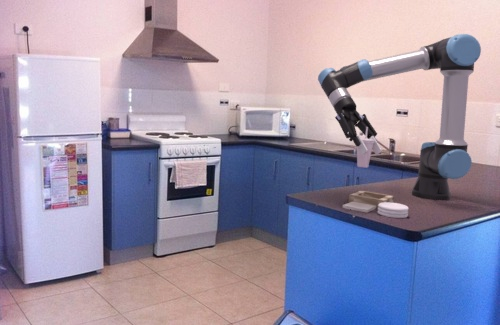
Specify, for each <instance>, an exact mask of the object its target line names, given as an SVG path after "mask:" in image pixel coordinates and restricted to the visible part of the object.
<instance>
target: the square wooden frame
mask: <svg viewBox="0 0 500 325" xmlns="http://www.w3.org/2000/svg"><path fill="white" fill-rule="evenodd" d="M348 202H349V203H350V202H357V203H363V204H369V205H374V206H376V209H378V204H379V203H383V202H390V203H395V195H391V194H387V193H386V194H385V193H379V192H374V191H368V190H367V191H366V190H359V191H356V192H353V193H350V194H349V195H348Z"/></svg>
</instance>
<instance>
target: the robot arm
mask: <svg viewBox="0 0 500 325" xmlns="http://www.w3.org/2000/svg"><path fill="white" fill-rule="evenodd" d="M481 52H482V48H481V44H480V42H479V40H478V39H477V38H476V37H475V36H473V35H471V34H468V33H463V34H462V33H461V34H460V33H459V34H455V35H453V36H450V37H447V38H443V39H441V40H439V41H436V42H434V43H431V44H428V45H424V46H421V47H420V48H419V49H417V50H413V51H409V52H404V53H400V54H395V55H392V56H391V55H390V56H386V57H382V58H376V59H372V60H367V59H365V58H363V59H360V60H358V61H356V62H354V63H350V64H349V65H345V66H342V67H340V69H338V70H336V69H334V68H333V67H328V68H324V69H323V70H321V71H320V73H319V74H318V78H317V80H318V82H319V84H320V87H321V89H322V90H323V92H324V94H325V95H326V97H327V99H328V100H329V103H330V104H331V106H332V107H333V109H334V111H335V113H336V116H334V118H335V119H336V121H337V122H338V124H339V126H340V128H341V130H342V132H343V134H344V136H345V138H346V139H349V142H353V143H354V145H355V146H356V149H357V148H358V149H359V151H360V153H361V155H364V154H365V153H366V152H367V151H368V149H367V148H366V146H365V144H364V142H363V141H362V139H361V138H362V137H361V135H358V133H357V130H356V128H358V129H359V131H360V132H361V133H362V134H363V135H364V136H365V135H366V127H368V131H367V139H372V140H375V141H374V143H373V148H372V152H374V154H375V156H378V155H379V154H380V153H381V152H382V151H383V149H382V148H381V145H380V144H379V142H378V140H377V138H376V137H377V135H378V132H377V131H376V130H375V128H374V127H373V125H372V124H371V123H370V121H369V119H368V117H367V115H366V114H365V113H363V114H360V113H359V112H358V111H357V104H356V102H355V101H354V99H353V98H352V95H351V94H350V92H349V91H348V89H349V88H351V87H352V86H353V87H354V86H355V85H358V84H361V83H363V82H367V81H371V80H375V79H381V78H384V77H390V76H395V75H399V74H404V73H409V72H413V71H418V70H423V71H430V70H436V69H437V70H438V69H439V72H440V74H442V75H443V84H442V85H443V86H442V99H441V100H442V101H441V114H440V116H441V117H440V126H439V128H440V129H439V139H437V140H436V141H435V142H432V141H426V142H423V143H422V144H421V148H420V150H419V151H420V155H419V163H418V165H419V166H418V174H417V178H416V181H415V183H414V185H413V187H412V189H411V190H412V191H411V195H412V196H413V197H416V198H418V199H425V200H430V201H431V200H433V201H449V200H451V192H450V187H449V180H450V179H451V180H458V179H462V178H463V177H465V176H466V175H467V174H468V173H469V172H470V170H471V168H472V164H473V163H472V158H471V156H470V154H469V153H468V146H469V144H468V143H467V142H466V140H465V130H466V129H465V127H466V125H465V124H466V114H467V113H466V112H467V104H468V103H467V100H468V89H469V77H470V76H471V75H472V74H473V73H474V68H475V63H476V62H477V61H478V60H479V59H480V56H481ZM448 179H449V180H448Z"/></svg>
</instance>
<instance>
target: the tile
mask: <svg viewBox="0 0 500 325" xmlns="http://www.w3.org/2000/svg"><path fill="white" fill-rule="evenodd" d="M342 208H343V209H345V210H350V209H351V211H356V212H361V213H370V212H372V211H375V210H376V209H377V208H376V206H374V205H369V204H363V203H357V202H350V203H345V204H342Z"/></svg>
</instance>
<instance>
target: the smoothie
mask: <svg viewBox="0 0 500 325" xmlns="http://www.w3.org/2000/svg"><path fill="white" fill-rule="evenodd" d="M367 131H368V127H366V135H364V136H365V137H364V138H362V137H361V139H362V141H363V142H364V144H365V146H366V148H367V149H368V151H367V152H366V153H365V154H364V155H361V153H360V151H359V149H358V148H357V147H356V162H357V164H356V165H357V168H369V164H370V160H371V155H372V153H373V149H372V148H373V143H374V141H375V140H372V139H368V138H367Z"/></svg>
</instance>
